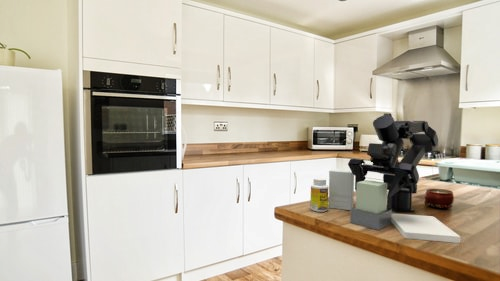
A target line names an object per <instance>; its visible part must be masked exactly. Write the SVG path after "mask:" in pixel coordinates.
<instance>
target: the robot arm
mask: <svg viewBox="0 0 500 281" xmlns="http://www.w3.org/2000/svg"><path fill="white" fill-rule="evenodd" d="M372 125H373V129H374V131H375V133H376V135H377V139H378V141H381V142H382V143H371V142H369V144H368V147H367V151H366V154H367V156H369V157H370V158H369V160H370V162H371V163H372V164H371V163H370V164H369V163H366V162H365V160H364V159H363V158H362V159H361V158H350V159H349V161H348V163H347V165H348V167H349V168H348V169H351V171H352V173H353V175H354V190H355V191H356V189H357V182H361V181H365V180H367V178H366V176H367V175H368V172H371V173H377V174H378V173H379V174H380V175H381V174H382V175H383V176H382V182H384V183H387V209H391V210H392V211H394V212H396V213H402V212H403V213H405V212H409V213H410V212H415V208H414V209H413V208H412V201H413V200H412V199H413V194H417V193H418V192H417V191H418V183H419V180H420V174H419V172H418V169H417V166H418V165H419V164H420V162H421V160H422V159H423V157H424V155H425V154H427V153H431V152H433V151H434V150H435V149H436V147H438V145H439V138H438V134H437V131H436V130H435V129H433V128H432V127H431V126H429V122H428V121H426V120H413V121H410V120H395V119H394V117H393V115H392V113H391V112H390V113H388V112H387V113H383V115H381V116H379V117H377V118H376V119H374V120H373V121H372ZM404 140H409V142H410V145H411V146H410V148H408V150H407V152H406V153H405V155H404V156H402V158H401V160H400V161H399V157H400V155H401V152H404V151H405V150H404V145H405V143H404Z"/></svg>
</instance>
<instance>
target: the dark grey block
mask: <svg viewBox="0 0 500 281" xmlns="http://www.w3.org/2000/svg"><path fill="white" fill-rule="evenodd" d="M392 211H393V210H391V209H389V208H387V210H384V211H382V212H380V213H378V214H376V213H372V212H367V211H363V210H359V209H356V206H353V207H352V208H351V210H350V224H354V225H357V226H361V227H364V228H368V229H373V230H376V231H380V230H382V229H384V228H386V227H389V226H390V225H392V222H391V214H392Z"/></svg>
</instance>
